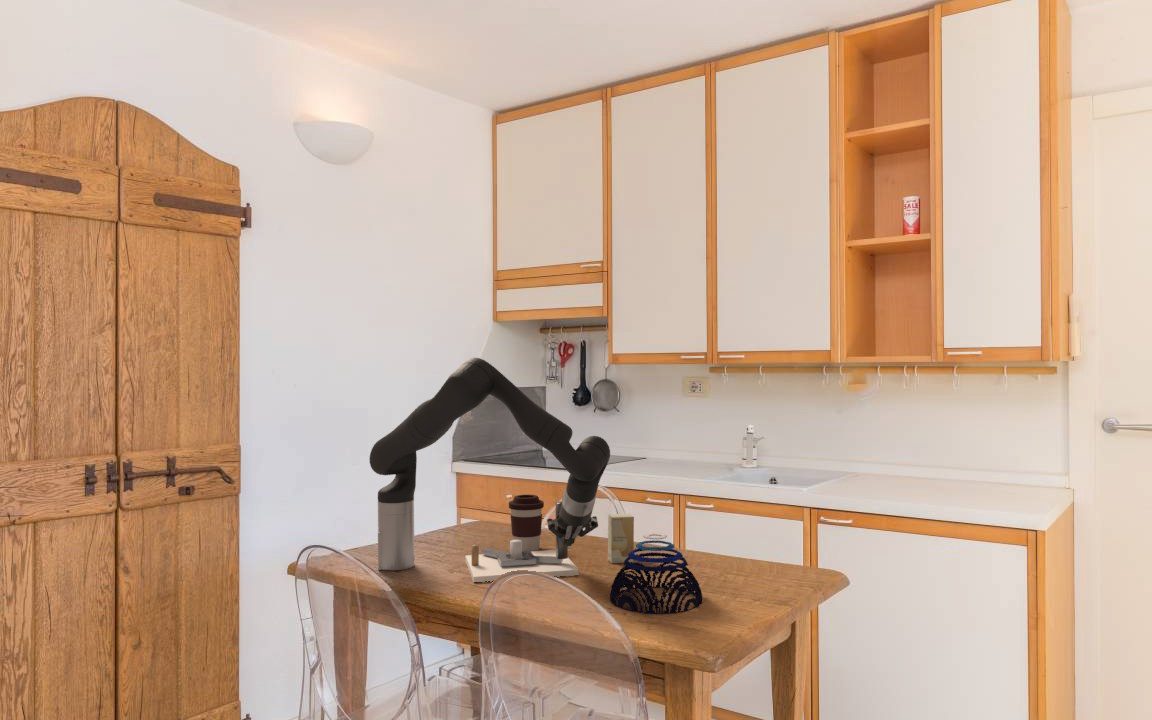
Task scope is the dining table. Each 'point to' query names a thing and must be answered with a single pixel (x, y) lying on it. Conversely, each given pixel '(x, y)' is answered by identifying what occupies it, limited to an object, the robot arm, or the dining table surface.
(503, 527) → the dining table surface
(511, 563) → the grey angle bracket
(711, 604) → the dining table surface
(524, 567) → the post base
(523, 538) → the coffee cup
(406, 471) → the robot arm
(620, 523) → the skincare box
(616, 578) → the decorative bowl
